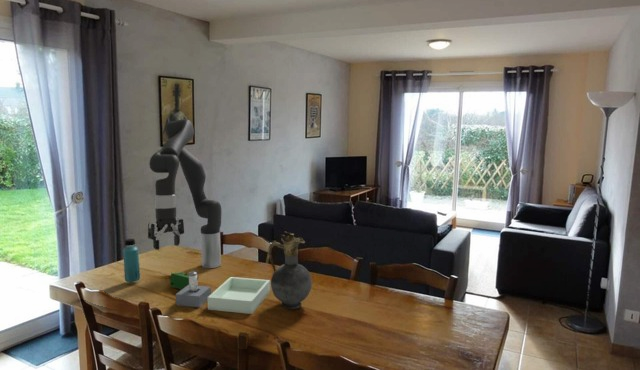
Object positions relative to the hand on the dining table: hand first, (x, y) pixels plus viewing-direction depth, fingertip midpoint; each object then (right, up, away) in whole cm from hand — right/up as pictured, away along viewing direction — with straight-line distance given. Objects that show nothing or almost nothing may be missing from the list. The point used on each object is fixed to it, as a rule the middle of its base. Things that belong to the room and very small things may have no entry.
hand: (166, 247), depth 168 cm
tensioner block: (+9, -23, +6) cm, 25 cm away
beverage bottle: (-24, -20, +25) cm, 40 cm away
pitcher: (+47, -23, +3) cm, 53 cm away
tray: (+27, -22, +7) cm, 36 cm away
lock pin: (+9, -23, +6) cm, 25 cm away
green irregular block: (+1, -21, +21) cm, 29 cm away
